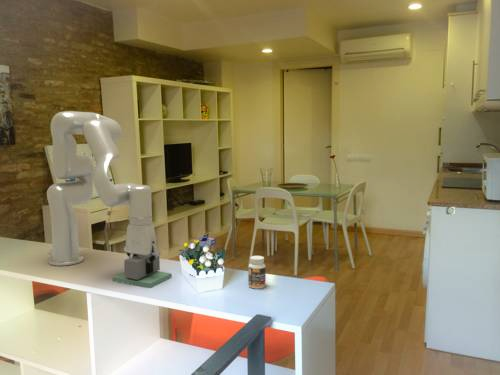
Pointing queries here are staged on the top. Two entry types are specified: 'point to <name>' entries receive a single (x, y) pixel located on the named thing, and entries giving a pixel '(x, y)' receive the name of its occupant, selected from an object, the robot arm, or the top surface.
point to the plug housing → (139, 266)
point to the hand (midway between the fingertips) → (142, 271)
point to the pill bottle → (256, 272)
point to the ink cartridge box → (204, 239)
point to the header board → (144, 279)
